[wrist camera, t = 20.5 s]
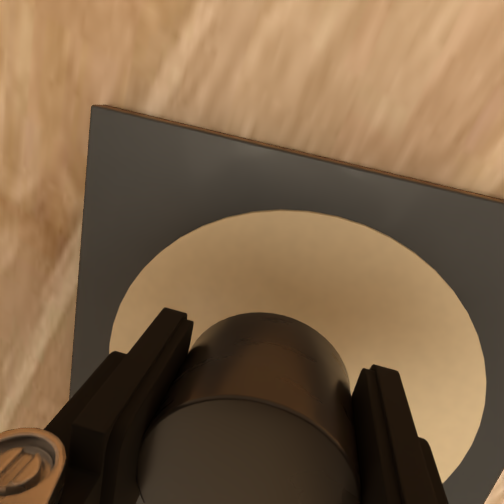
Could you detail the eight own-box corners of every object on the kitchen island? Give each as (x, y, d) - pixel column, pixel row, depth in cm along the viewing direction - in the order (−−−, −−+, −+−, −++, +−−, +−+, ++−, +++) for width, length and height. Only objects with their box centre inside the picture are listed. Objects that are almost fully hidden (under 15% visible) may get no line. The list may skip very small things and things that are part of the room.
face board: (72, 472, 19) (59, 491, 18) (103, 104, 13) (86, 104, 12) (424, 580, 18) (430, 606, 17) (618, 227, 12) (644, 236, 11)
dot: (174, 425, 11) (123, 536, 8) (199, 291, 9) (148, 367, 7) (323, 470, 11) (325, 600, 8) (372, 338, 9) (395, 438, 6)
